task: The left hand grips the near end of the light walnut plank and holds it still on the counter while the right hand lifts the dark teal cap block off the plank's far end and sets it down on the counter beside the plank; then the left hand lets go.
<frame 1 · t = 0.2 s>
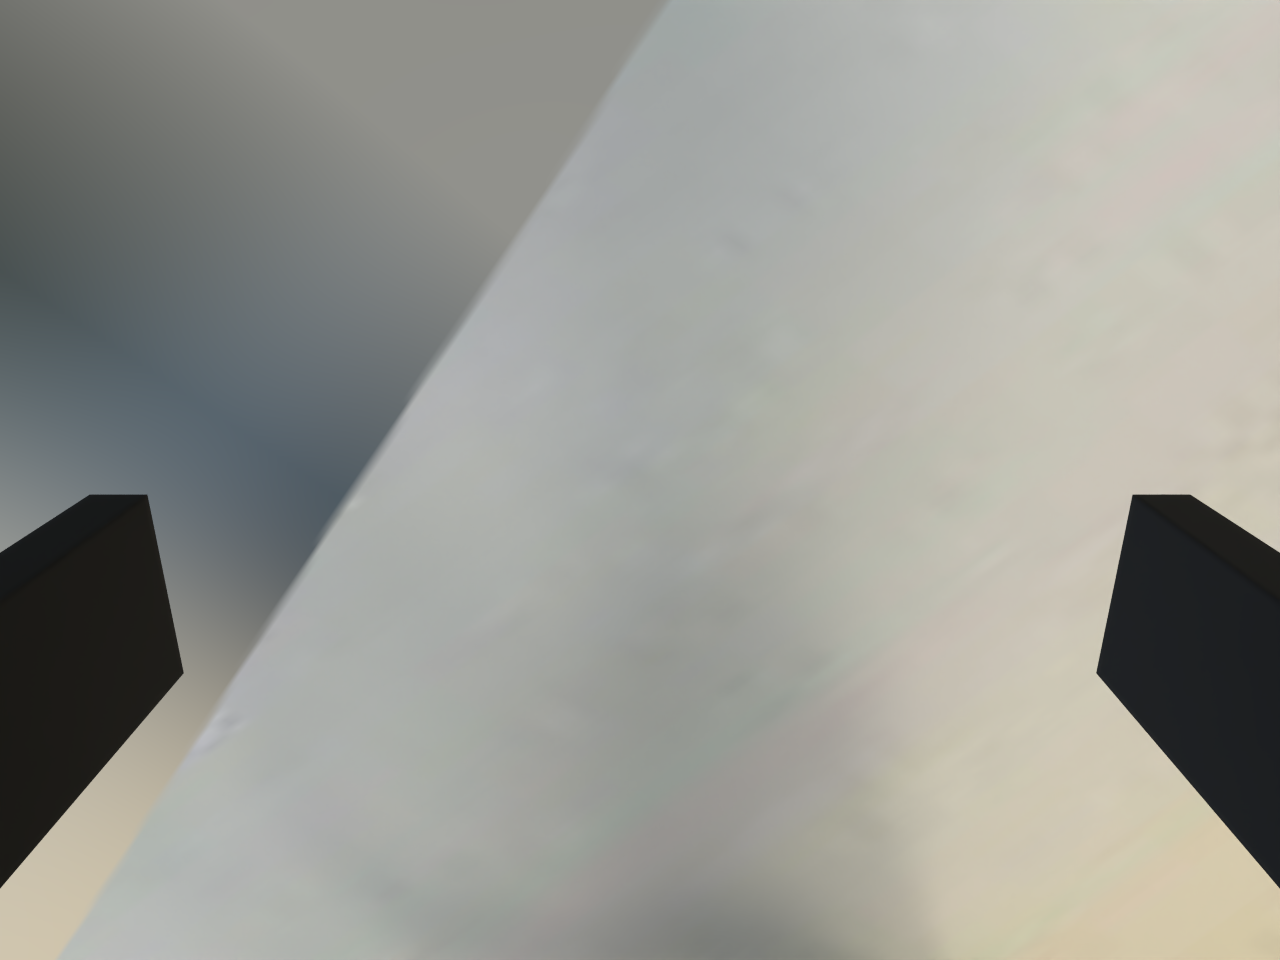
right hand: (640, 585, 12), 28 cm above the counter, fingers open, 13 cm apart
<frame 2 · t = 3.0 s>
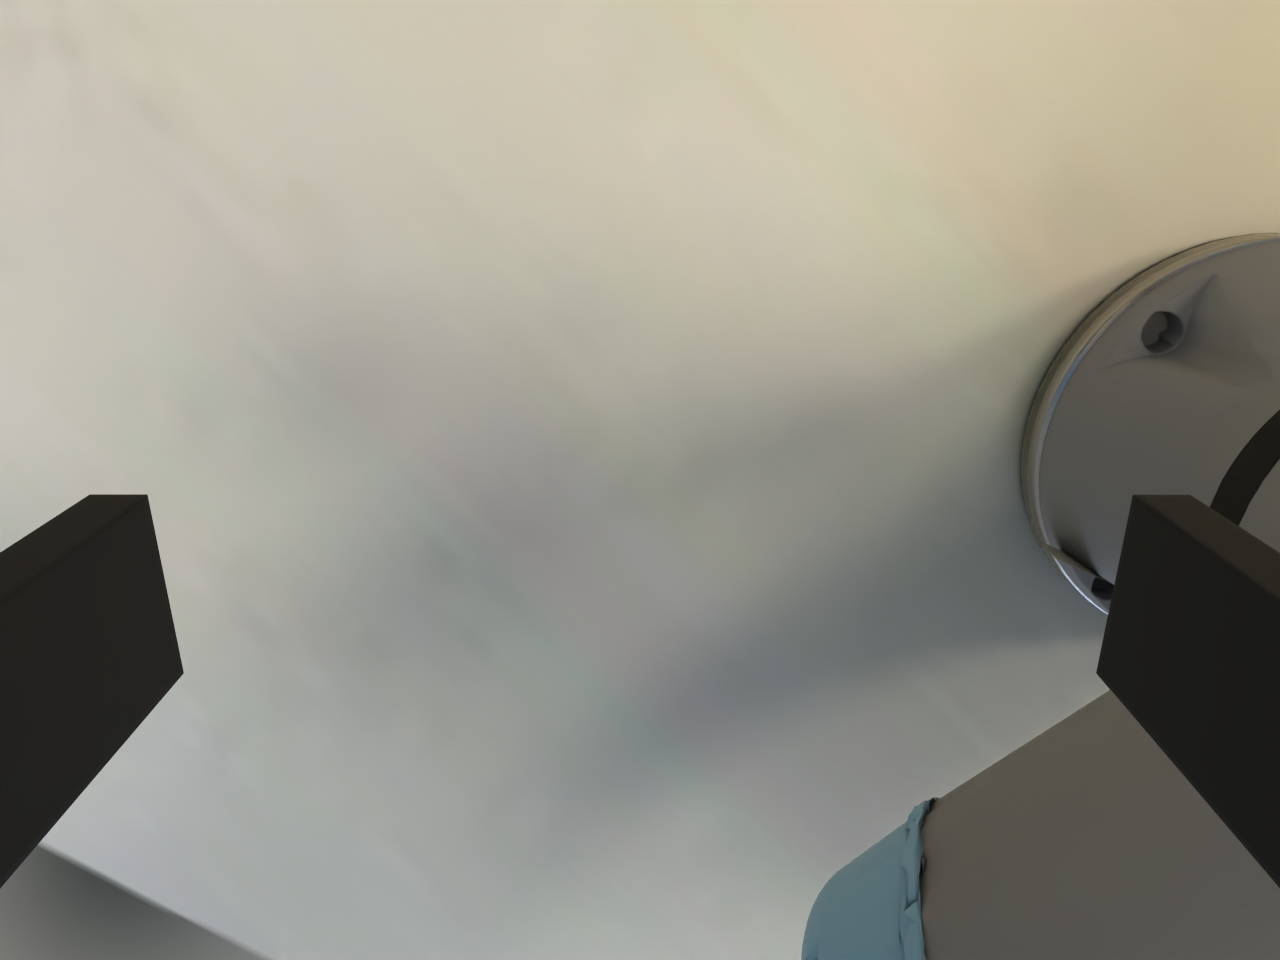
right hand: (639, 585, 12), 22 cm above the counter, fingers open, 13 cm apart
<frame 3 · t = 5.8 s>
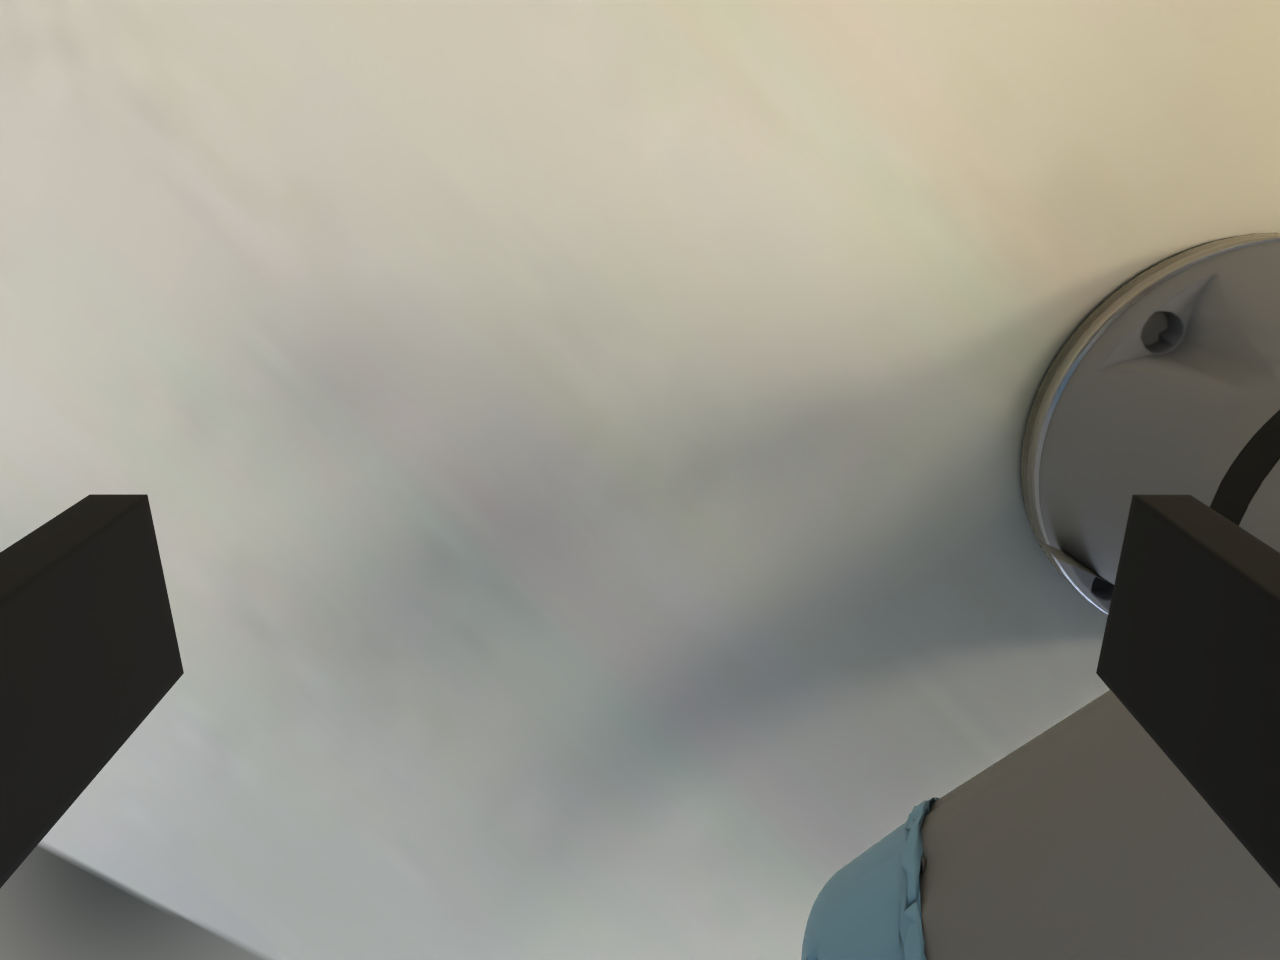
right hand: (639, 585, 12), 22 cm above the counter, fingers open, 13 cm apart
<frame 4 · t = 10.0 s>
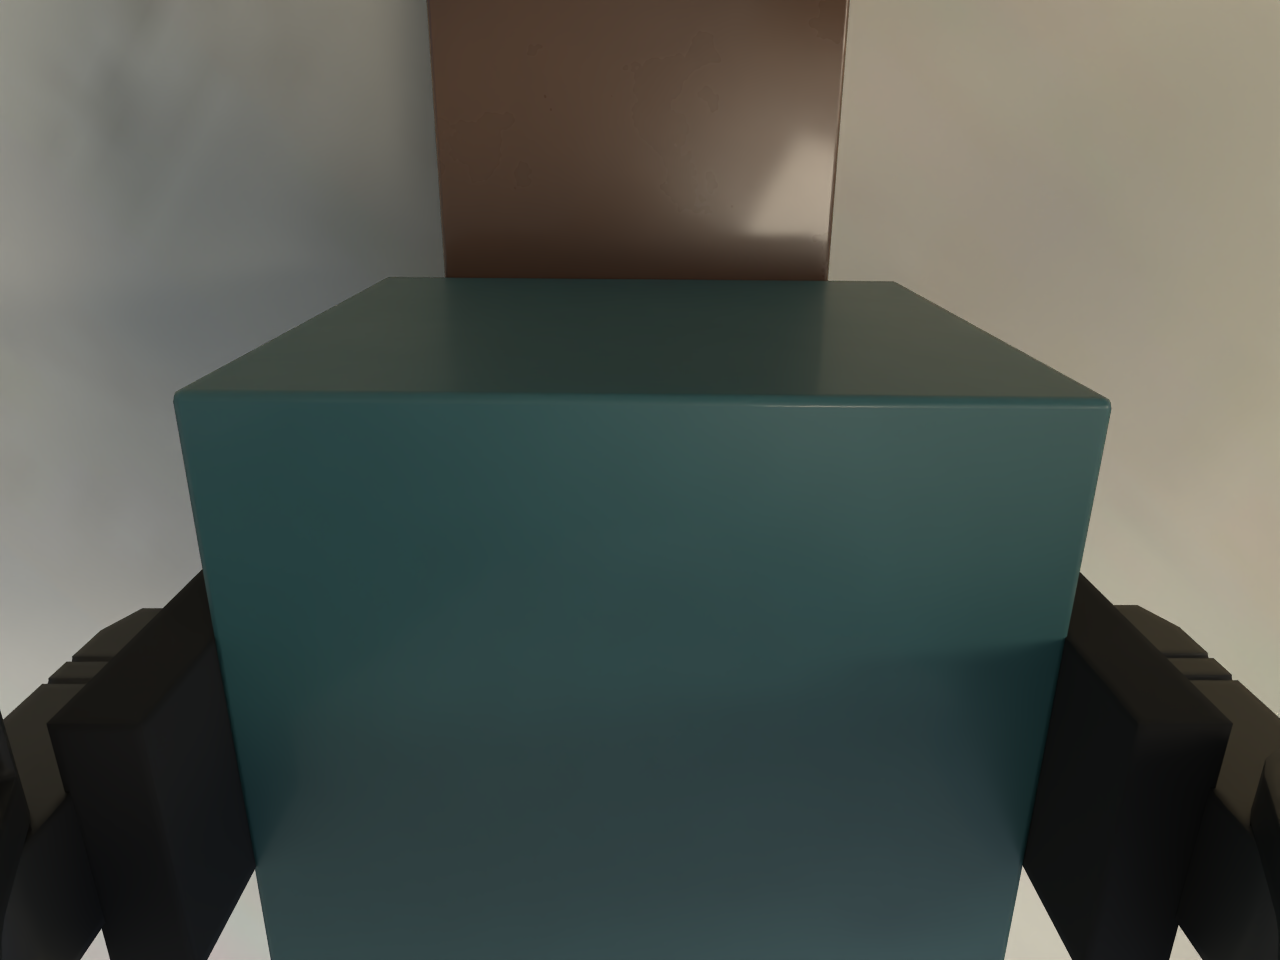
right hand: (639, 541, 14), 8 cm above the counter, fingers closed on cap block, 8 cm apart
cap block: (639, 488, 15), point 6 cm above the counter, touching right hand, plank
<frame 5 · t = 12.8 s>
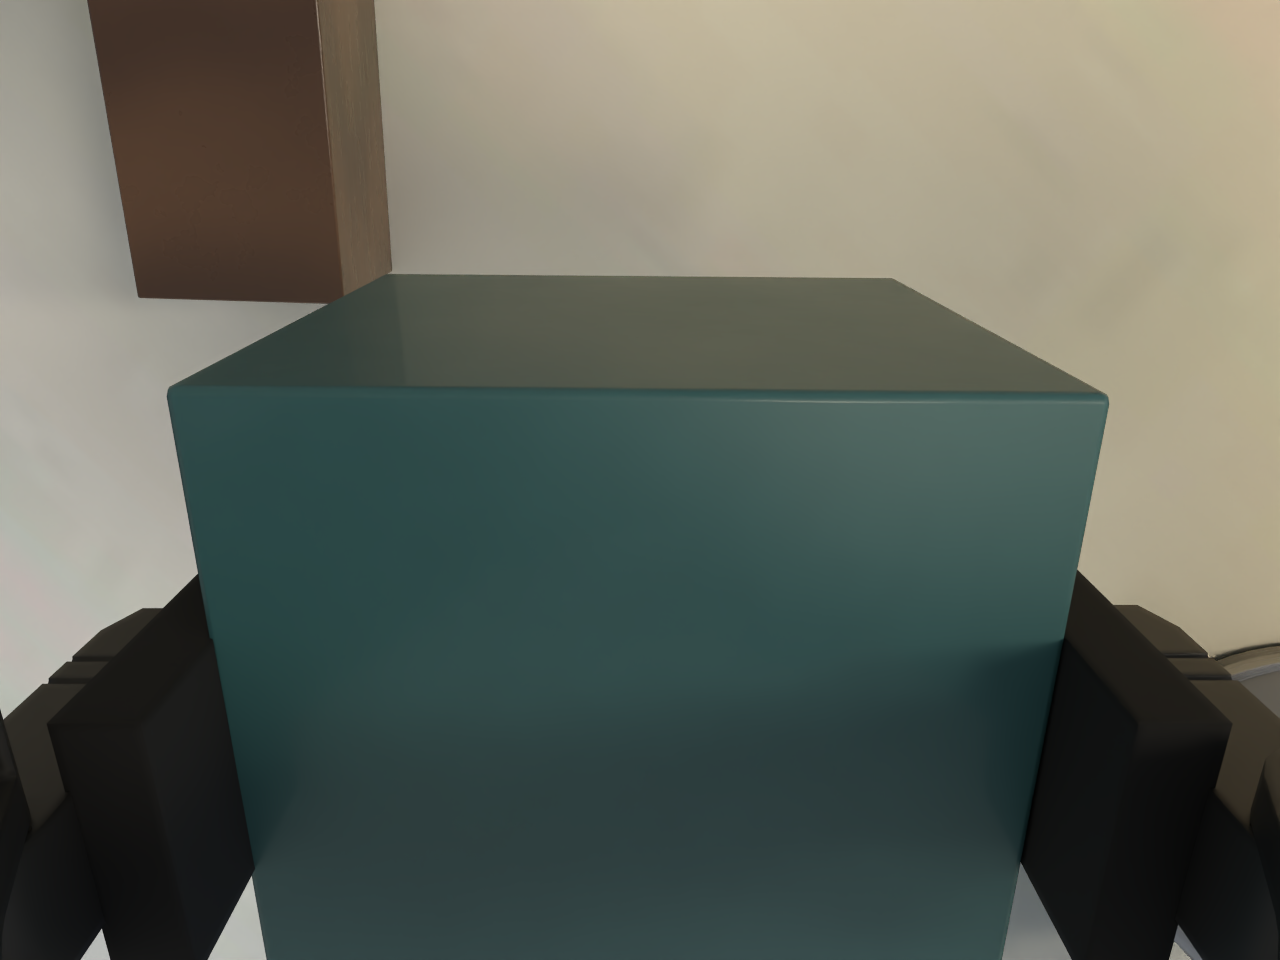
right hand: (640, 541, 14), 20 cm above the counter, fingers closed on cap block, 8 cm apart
cap block: (637, 485, 15), point 19 cm above the counter, touching right hand
when the right hand's fingers open (3 cm above the counter, at t = 17.2 s): cap block drops 1 cm, on the counter.
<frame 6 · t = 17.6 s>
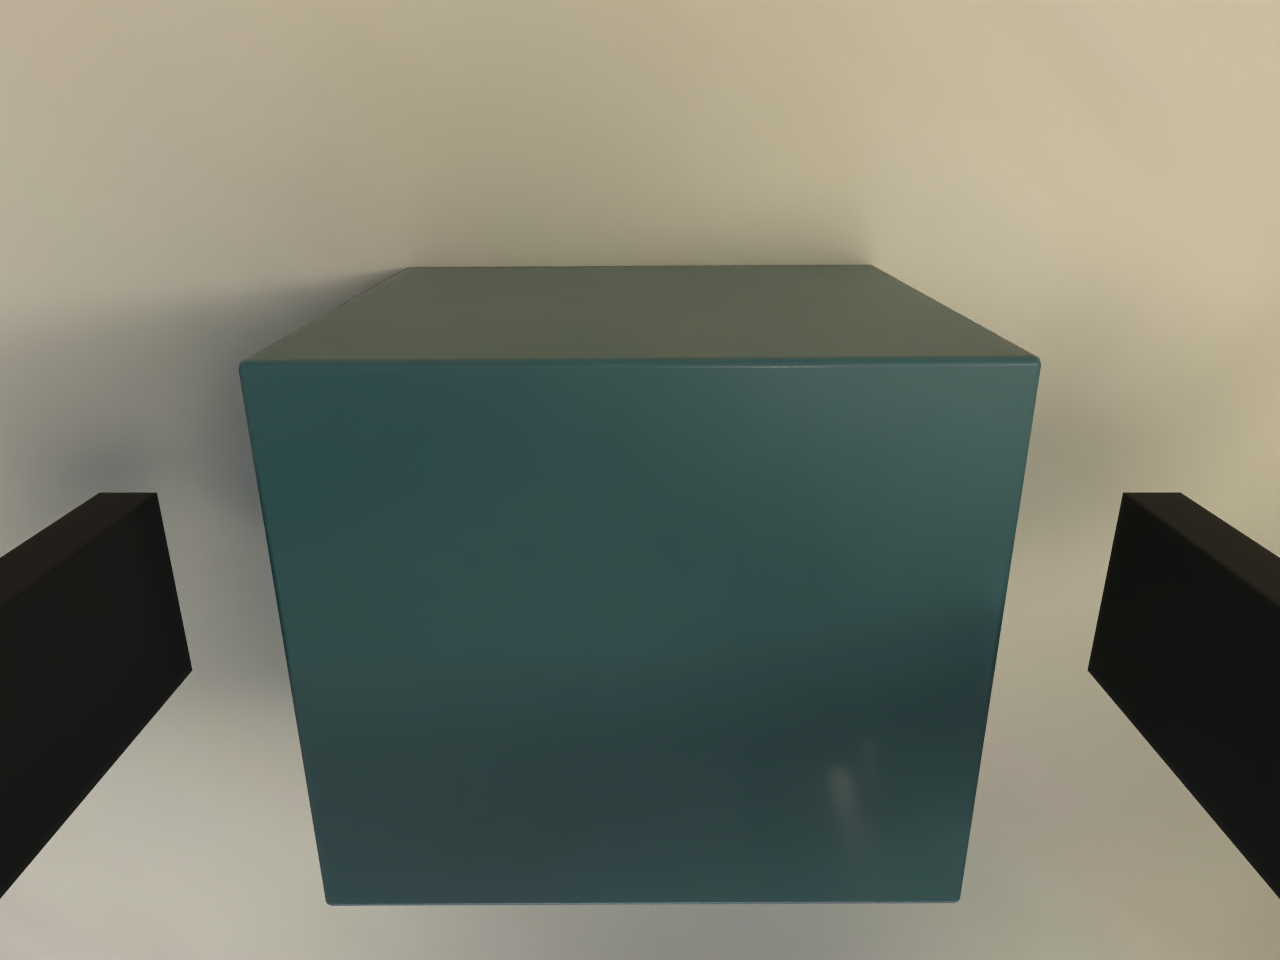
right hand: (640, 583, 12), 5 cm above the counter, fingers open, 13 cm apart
cap block: (640, 459, 17), on the counter
when the left hand's fingers open (2 cm above the counter, at t = 20.2 s): plank stays where it is, on the counter.
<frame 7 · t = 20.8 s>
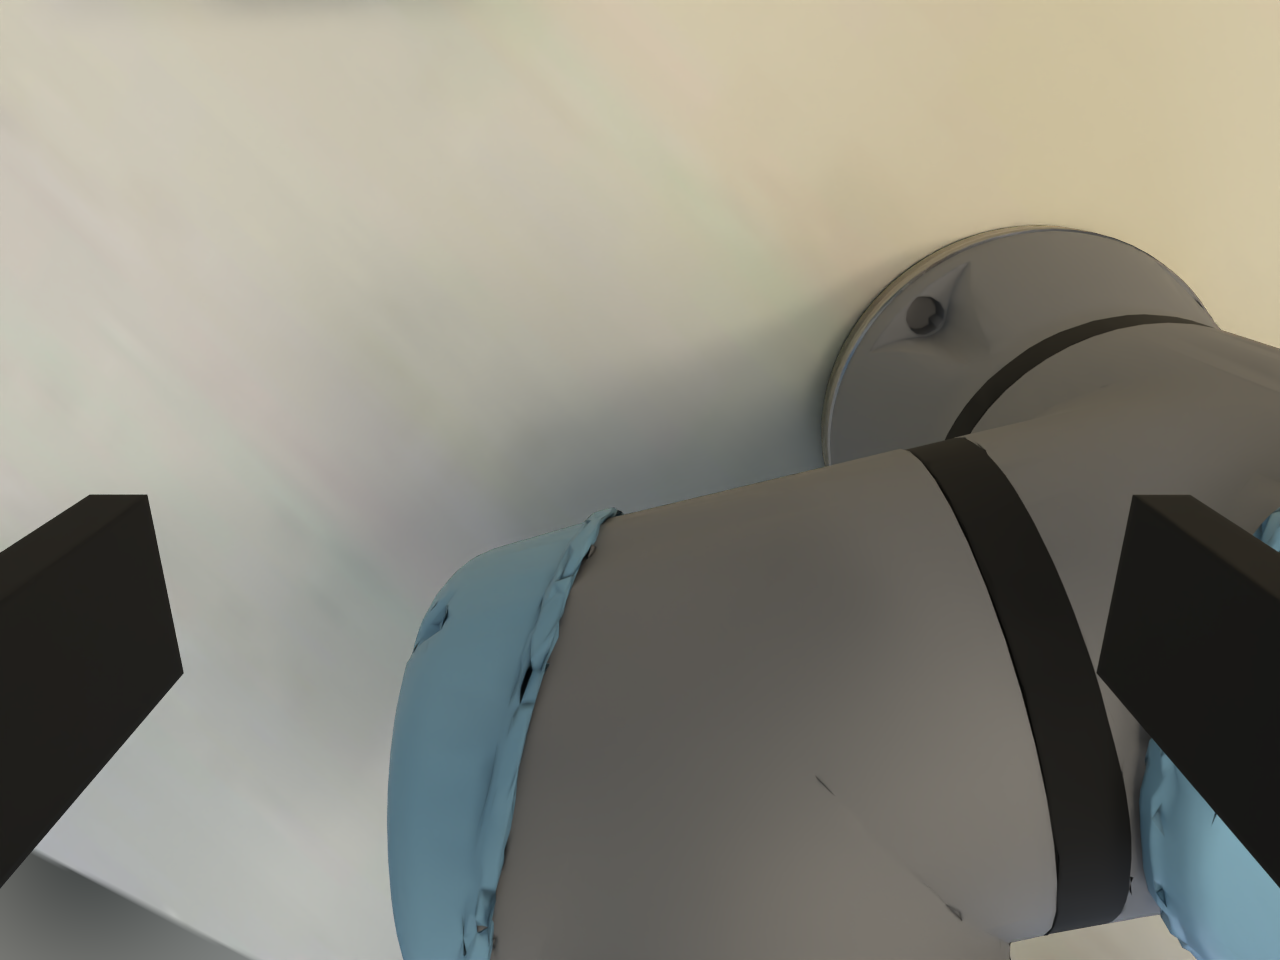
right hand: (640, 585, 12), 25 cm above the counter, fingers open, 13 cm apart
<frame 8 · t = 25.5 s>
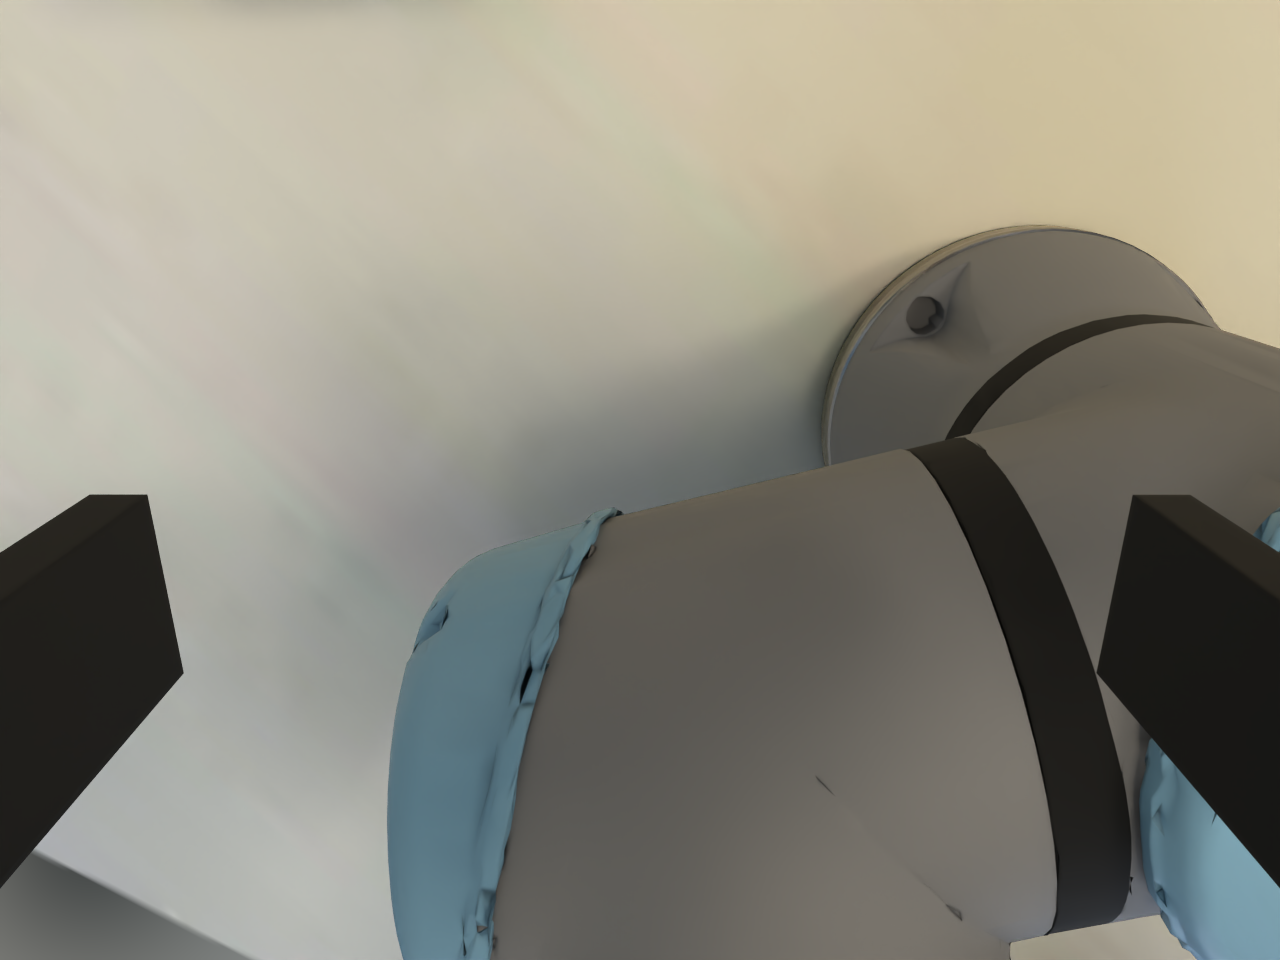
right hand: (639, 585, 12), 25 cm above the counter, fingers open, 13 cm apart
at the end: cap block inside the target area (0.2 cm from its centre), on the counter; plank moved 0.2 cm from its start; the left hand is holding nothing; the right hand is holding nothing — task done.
